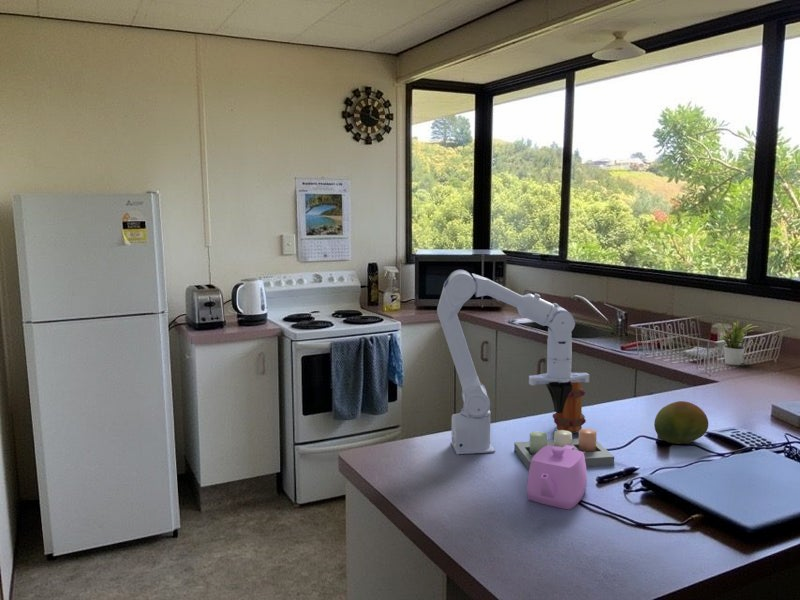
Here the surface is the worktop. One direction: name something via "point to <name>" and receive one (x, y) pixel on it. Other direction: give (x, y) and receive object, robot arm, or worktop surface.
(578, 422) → the mug
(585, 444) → the button terracotta
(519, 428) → the worktop surface
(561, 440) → the button cream
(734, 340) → the house plant
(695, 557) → the worktop surface
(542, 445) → the button sage
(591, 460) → the panel
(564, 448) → the teapot
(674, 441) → the fruit
